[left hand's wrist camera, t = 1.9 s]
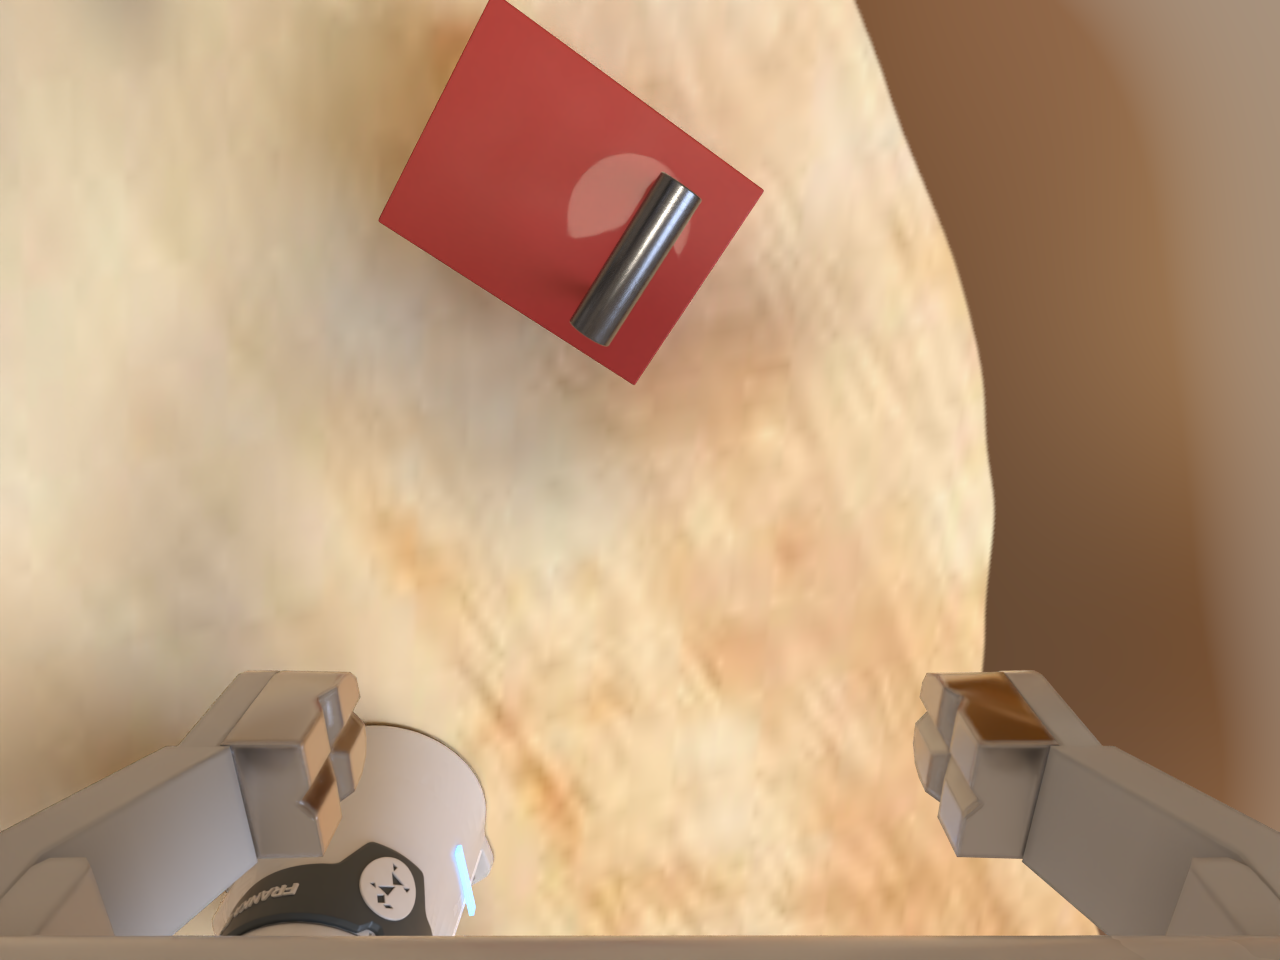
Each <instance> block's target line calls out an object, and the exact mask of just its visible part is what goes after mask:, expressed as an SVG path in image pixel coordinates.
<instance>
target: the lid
mask: <svg viewBox="0 0 1280 960" xmlns="http://www.w3.org/2000/svg"><path fill="white" fill-rule="evenodd" d="M763 191H764V190H763V189H762V188H760V187H759V186H758V185H756V184H755V183H753V182H752V181H751V180H749V179H748V178H747V177H745V176H744V175H743V174H741V173H740V172H739V171H737V170H736V169H734V168H733V167H732V166H730V165H729V164H728V163H726V162H725V161H724V160H722V159H721V158H719V157H718V156H717V155H715V154H714V153H713V152H711V151H710V150H709V149H707V148H706V147H704V146H703V145H702V144H700V143H699V142H698V141H696V140H695V139H694V138H692V137H691V136H689V135H688V134H687V133H685V132H684V131H683V130H681V129H680V128H679V127H677V126H676V125H674V124H673V123H672V122H670V121H669V120H668V119H666V118H665V117H664V116H662V115H661V114H659V113H658V112H657V111H655V110H654V109H653V108H651V107H650V106H649V105H647V104H646V103H644V102H643V101H642V100H640V99H639V98H638V97H636V96H635V95H634V94H632V93H631V92H629V91H628V90H627V89H625V88H624V87H623V86H621V85H620V84H619V83H617V82H616V81H615V80H613V79H612V78H610V77H609V76H608V75H606V74H605V73H604V72H602V71H601V70H600V69H598V68H597V67H595V66H594V65H593V64H591V63H590V62H589V61H587V60H586V59H585V58H583V57H582V56H580V55H579V54H578V53H576V52H575V51H574V50H572V49H571V48H570V47H568V46H567V45H565V44H564V43H563V42H561V41H560V40H559V39H557V38H556V37H555V36H553V35H552V34H550V33H549V32H548V31H546V30H545V29H544V28H542V27H541V26H540V25H538V24H537V23H535V22H534V21H533V20H531V19H530V18H529V17H527V16H526V15H525V14H523V13H522V12H520V11H519V10H518V9H516V8H515V7H514V6H512V5H511V4H510V3H508V2H507V1H505V0H489V1H488V3H487V5H486V7H485V9H484V11H483V13H482V15H481V17H480V19H479V21H478V23H477V25H476V27H475V29H474V31H473V33H472V35H471V37H470V39H469V41H468V43H467V45H466V47H465V49H464V51H463V53H462V55H461V57H460V59H459V61H458V63H457V65H456V67H455V69H454V71H453V73H452V75H451V77H450V79H449V81H448V83H447V85H446V87H445V89H444V91H443V93H442V95H441V97H440V99H439V101H438V103H437V105H436V107H435V108H434V110H433V112H432V114H431V116H430V118H429V120H428V122H427V124H426V126H425V128H424V130H423V132H422V134H421V136H420V138H419V140H418V142H417V144H416V146H415V148H414V150H413V152H412V154H411V156H410V158H409V160H408V162H407V164H406V166H405V168H404V170H403V172H402V174H401V176H400V178H399V180H398V182H397V184H396V186H395V188H394V190H393V192H392V194H391V196H390V198H389V200H388V202H387V204H386V206H385V208H384V210H383V212H382V214H381V216H380V218H379V220H378V221H379V222H380V223H382V224H383V225H385V226H386V227H388V228H389V229H391V230H393V231H394V232H396V233H397V234H399V235H400V236H402V237H404V238H405V239H407V240H408V241H410V242H411V243H413V244H414V245H416V246H418V247H419V248H421V249H422V250H424V251H425V252H427V253H428V254H430V255H432V256H433V257H435V258H436V259H438V260H439V261H441V262H443V263H444V264H446V265H447V266H449V267H450V268H452V269H453V270H455V271H457V272H458V273H460V274H461V275H463V276H464V277H466V278H468V279H469V280H471V281H472V282H474V283H475V284H477V285H478V286H480V287H482V288H483V289H485V290H486V291H488V292H489V293H491V294H492V295H494V296H496V297H497V298H499V299H500V300H502V301H503V302H505V303H507V304H508V305H510V306H511V307H513V308H514V309H516V310H517V311H519V312H521V313H522V314H524V315H525V316H527V317H528V318H530V319H531V320H533V321H535V322H536V323H538V324H539V325H541V326H542V327H544V328H546V329H547V330H549V331H550V332H552V333H553V334H555V335H556V336H558V337H560V338H561V339H563V340H564V341H566V342H567V343H569V344H571V345H572V346H574V347H575V348H577V349H578V350H580V351H581V352H583V353H585V354H586V355H588V356H589V357H591V358H592V359H594V360H595V361H597V362H599V363H600V364H602V365H603V366H605V367H606V368H608V369H610V370H611V371H613V372H614V373H616V374H617V375H619V376H620V377H622V378H624V379H625V380H627V381H628V382H630V383H631V384H633V385H635V384H636V382H637V381H638V379H639V378H640V376H641V375H642V373H643V372H644V370H645V369H646V367H647V366H648V364H649V363H650V361H651V360H652V358H653V357H654V355H655V354H656V352H657V351H658V349H659V348H660V346H661V345H662V343H663V342H664V340H665V339H666V337H667V336H668V334H669V333H670V331H671V330H672V328H673V327H674V325H675V324H676V322H677V321H678V319H679V318H680V316H681V315H682V313H683V312H684V310H685V309H686V307H687V306H688V304H689V303H690V301H691V300H692V298H693V297H694V295H695V294H696V292H697V291H698V289H699V288H700V286H701V285H702V283H703V282H704V280H705V279H706V277H707V276H708V274H709V273H710V271H711V270H712V268H713V267H714V265H715V264H716V262H717V261H718V259H719V258H720V256H721V255H722V253H723V252H724V250H725V249H726V247H727V246H728V244H729V243H730V241H731V240H732V238H733V237H734V235H735V234H736V232H737V231H738V229H739V228H740V226H741V225H742V223H743V222H744V220H745V219H746V217H747V216H748V214H749V213H750V211H751V210H752V208H753V207H754V205H755V204H756V202H757V201H758V199H759V198H760V196H761V195H762V193H763Z"/></svg>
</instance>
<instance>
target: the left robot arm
mask: <svg viewBox="0 0 1280 960" xmlns="http://www.w3.org/2000/svg"><path fill="white" fill-rule="evenodd" d="M359 699H360V693H359V688H358V683H357V678H356V677H355V676H354V675H353V674H352V673H351V672H321V671H246V672H243V673H240V674H238V675H237V676H236V678H235V679H234V680H233V681H232V682H231V683H230V685H229V686H228V687H227V688H226V689H225V691H224V692H223V693H222V694H221V695H220V696H219V698H218V699H217V700H216V701H215V702H214V703H213V705H212V706H211V707H210V708H209V709H208V711H207V712H206V713H205V714H204V715H203V716H202V718H201V719H200V720H199V721H198V722H197V724H196V725H195V726H194V727H193V728H192V729H191V731H190V732H189V733H188V734H187V735H186V737H185V738H184V739H183V740H182V741H181V742H180V744H179V745H178V746H165V747H163V748H161V749H159V750H158V751H156V752H154V753H152V754H150V755H148V756H146V757H144V758H142V759H140V760H138V761H136V762H134V763H133V764H131V765H129V766H127V767H125V768H123V769H121V770H119V771H117V772H115V773H113V774H111V775H109V776H108V777H106V778H104V779H102V780H100V781H98V782H96V783H94V784H92V785H90V786H88V787H86V788H84V789H83V790H81V791H79V792H77V793H75V794H73V795H71V796H69V797H67V798H65V799H63V800H61V801H60V802H58V803H56V804H54V805H52V806H50V807H48V808H46V809H44V810H42V811H40V812H38V813H36V814H35V815H33V816H31V817H29V818H27V819H25V820H23V821H21V822H19V823H17V824H15V825H13V826H11V827H10V828H8V829H6V830H4V831H2V832H0V960H1280V832H1278V831H1276V830H1274V829H1272V828H1270V827H1268V826H1266V825H1264V824H1262V823H1260V822H1259V821H1257V820H1255V819H1253V818H1251V817H1249V816H1247V815H1245V814H1243V813H1241V812H1239V811H1237V810H1236V809H1234V808H1232V807H1230V806H1228V805H1226V804H1224V803H1222V802H1220V801H1218V800H1216V799H1214V798H1212V797H1211V796H1209V795H1207V794H1205V793H1203V792H1201V791H1199V790H1197V789H1195V788H1193V787H1191V786H1190V785H1188V784H1186V783H1184V782H1182V781H1180V780H1178V779H1176V778H1174V777H1172V776H1170V775H1168V774H1167V773H1165V772H1163V771H1161V770H1159V769H1157V768H1155V767H1153V766H1151V765H1149V764H1147V763H1145V762H1143V761H1142V760H1140V759H1138V758H1136V757H1134V756H1132V755H1130V754H1128V753H1126V752H1124V751H1122V750H1120V749H1119V748H1117V747H1115V746H1102V745H1101V744H1100V742H1099V741H1098V740H1097V739H1096V738H1095V737H1094V735H1093V734H1092V733H1091V732H1090V731H1089V730H1088V728H1087V727H1086V726H1085V725H1084V724H1083V722H1082V721H1081V720H1080V719H1079V718H1078V717H1077V715H1076V714H1075V713H1074V712H1073V711H1072V709H1071V708H1070V707H1069V706H1068V705H1067V704H1066V702H1065V701H1064V700H1063V699H1062V698H1061V697H1060V695H1059V694H1058V693H1057V692H1056V691H1055V689H1054V688H1053V687H1052V686H1051V685H1050V684H1049V682H1048V681H1047V680H1046V679H1045V678H1044V676H1043V675H1041V674H1040V673H1038V672H1036V671H1034V670H1020V671H998V672H966V673H927V674H926V676H925V678H924V680H923V682H922V687H921V693H920V699H921V700H922V702H923V704H924V706H925V708H926V710H927V712H926V713H925V714H924V715H923V716H922V717H921V718H920V719H919V720H918V721H917V722H916V723H915V731H914V739H913V748H914V759H915V765H916V769H917V772H918V776H919V779H920V781H921V783H922V785H923V787H924V790H925V792H927V793H928V794H929V795H931V796H932V797H934V798H935V799H936V800H938V801H939V802H940V805H939V811H938V819H939V821H940V823H941V825H942V827H943V829H944V831H945V833H946V835H947V837H948V839H949V842H950V844H951V846H952V848H953V850H954V852H955V854H956V856H957V857H979V858H1014V859H1023V860H1022V862H1023V863H1024V864H1025V865H1026V866H1028V867H1029V868H1030V869H1031V870H1032V871H1033V872H1035V873H1036V874H1037V875H1038V876H1039V877H1040V878H1042V879H1043V880H1044V881H1045V882H1046V883H1047V884H1048V885H1050V886H1051V887H1052V888H1053V889H1054V890H1055V891H1057V892H1058V893H1059V894H1060V895H1061V896H1062V897H1064V898H1065V899H1066V900H1067V901H1068V902H1069V903H1071V904H1072V905H1073V906H1074V907H1075V908H1076V909H1078V910H1079V911H1080V912H1081V913H1082V914H1083V915H1084V916H1086V917H1087V918H1088V919H1089V920H1090V921H1091V922H1093V923H1094V924H1095V925H1096V926H1097V927H1098V928H1100V929H1101V930H1102V931H1103V932H1104V933H1105V934H1107V935H1108V936H455V933H456V930H457V927H458V924H459V921H460V918H461V915H462V912H463V909H464V906H465V903H467V907H468V911H469V916H471V915H474V912H475V902H474V898H473V894H472V889H471V886H472V885H474V884H475V883H477V882H479V881H480V880H482V879H484V878H485V877H486V876H488V874H489V873H490V870H491V867H492V864H493V861H494V857H493V853H492V850H491V848H490V845H489V843H488V841H487V839H486V837H485V817H486V803H485V797H484V794H483V790H482V788H481V785H480V783H479V781H478V779H477V778H476V776H475V774H474V773H473V771H472V770H471V769H470V767H469V766H468V765H467V764H466V763H465V762H464V761H463V760H462V759H461V758H460V757H459V756H458V755H457V754H456V753H455V752H453V751H452V750H451V749H449V748H448V747H446V746H445V745H443V744H442V743H440V742H438V741H436V740H434V739H432V738H430V737H428V736H426V735H423V734H421V733H418V732H415V731H411V730H408V729H403V728H398V727H392V726H377V725H373V726H365V723H364V722H363V721H362V720H361V719H360V718H359V717H358V716H357V715H356V714H355V713H354V712H353V710H354V708H355V706H356V704H357V702H358V701H359ZM224 891H226V892H227V894H226V896H225V898H224V900H223V901H222V903H221V905H220V906H219V908H218V910H217V912H216V913H215V915H214V917H213V919H212V927H213V931H214V933H215V935H216V936H172V935H174V934H175V933H176V932H177V931H178V930H179V929H181V928H182V927H183V926H184V925H185V924H186V923H188V922H189V921H190V920H191V919H192V918H193V917H195V916H196V915H197V914H198V913H199V912H200V911H202V910H203V909H204V908H205V907H206V906H207V905H209V904H210V903H211V902H212V901H213V900H214V899H216V898H217V897H218V896H219V895H220V894H221V893H223V892H224Z"/></svg>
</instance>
